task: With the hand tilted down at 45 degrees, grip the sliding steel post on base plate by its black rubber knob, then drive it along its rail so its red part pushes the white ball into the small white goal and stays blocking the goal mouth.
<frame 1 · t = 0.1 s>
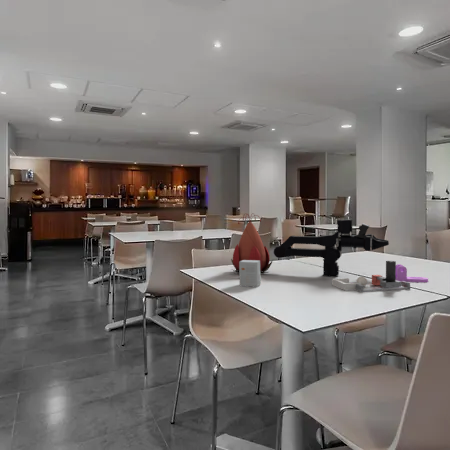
hand: (388, 242, 169), 17 cm above the table, tool horizontal, fingers open, 9 cm apart
small box: (250, 285, 160), on the table
bracket: (411, 281, 166), on the table
rail: (390, 288, 150), on the table
ball: (361, 281, 156), point 2 cm above the table
goal: (347, 287, 155), on the table
decorative flower: (251, 273, 189), on the table
post on base plate: (385, 273, 154), point 6 cm above the table, slide at 0.0 cm
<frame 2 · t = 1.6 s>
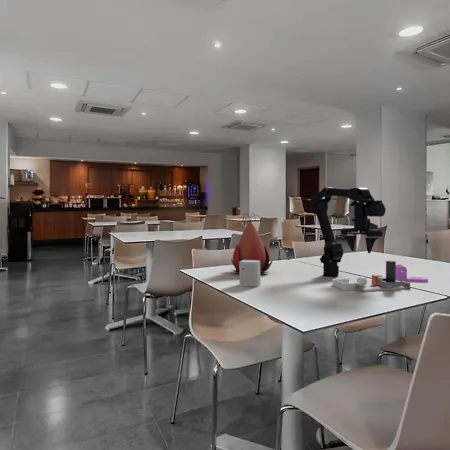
hand: (360, 252, 165), 13 cm above the table, tool pointing down, fingers open, 9 cm apart
nothing on the table moved.
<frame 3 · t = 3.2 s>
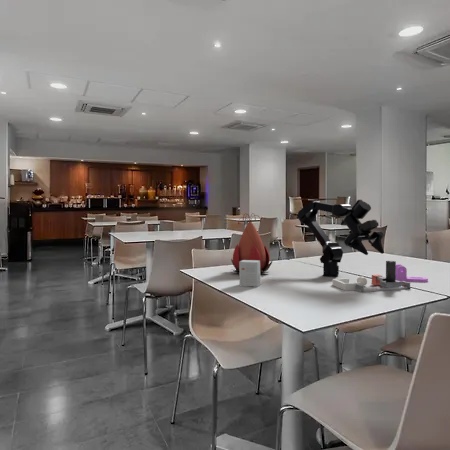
hand: (375, 253, 157), 13 cm above the table, tool tilted 45°, fingers open, 9 cm apart
nothing on the table moved.
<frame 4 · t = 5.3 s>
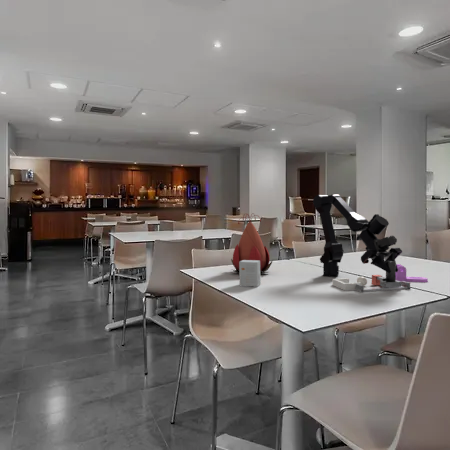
hand: (393, 271, 149), 7 cm above the table, tool tilted 45°, fingers closed on post on base plate, 4 cm apart
post on base plate: (385, 273, 154), point 6 cm above the table, slide at 0.0 cm, touching gripper
everything else where it was.
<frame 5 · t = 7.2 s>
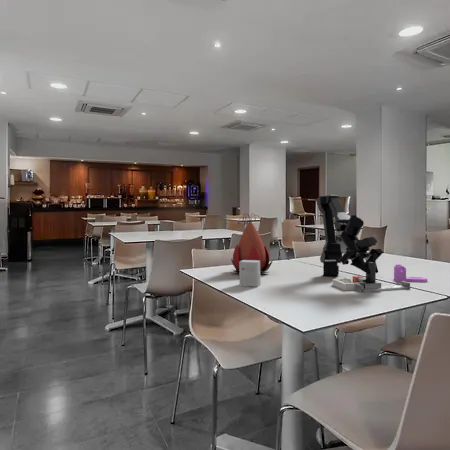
hand: (373, 273, 147), 7 cm above the table, tool tilted 45°, fingers open, 4 cm apart
ball: (346, 282, 155), point 2 cm above the table, tilted 163°
post on base plate: (365, 274, 152), point 6 cm above the table, slide at 8.9 cm
everything else where it was.
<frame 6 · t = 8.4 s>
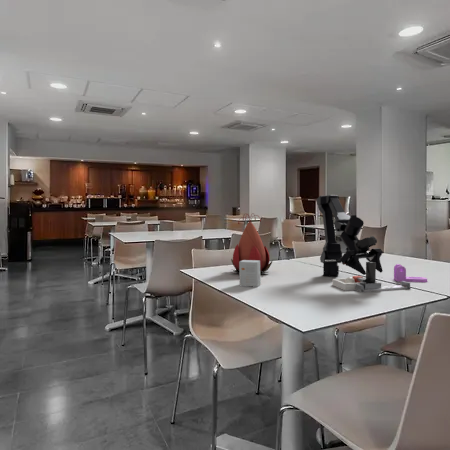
hand: (373, 273, 147), 7 cm above the table, tool tilted 45°, fingers open, 9 cm apart
ball: (350, 282, 155), point 2 cm above the table, tilted 152°
everything else where it was.
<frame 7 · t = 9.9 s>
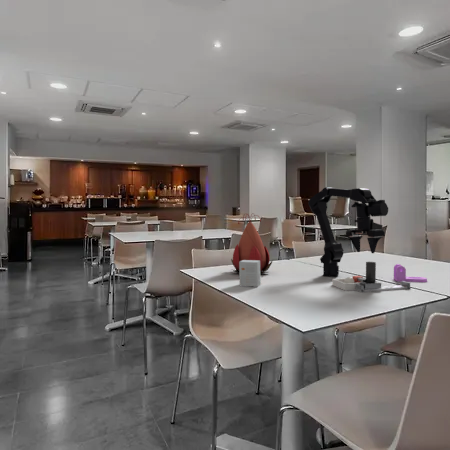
hand: (365, 252, 164), 13 cm above the table, tool pointing down, fingers open, 9 cm apart
ball: (349, 282, 155), point 2 cm above the table, tilted 160°
everything else where it was.
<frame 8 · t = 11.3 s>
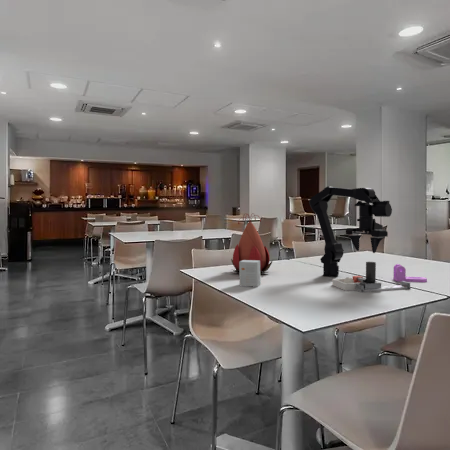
hand: (365, 251, 166), 13 cm above the table, tool pointing down, fingers open, 9 cm apart
ball: (348, 282, 155), point 2 cm above the table, tilted 168°
everything else where it was.
at the end: ball 0.5 cm from the goal (horizontally); post on base plate slide at 8.9 cm; ball point 2.0 cm above the table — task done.
